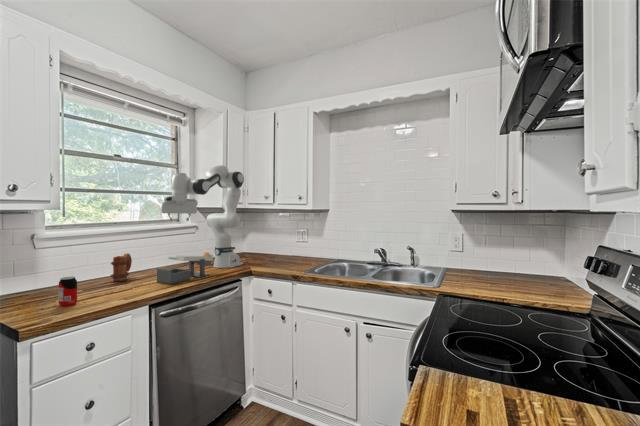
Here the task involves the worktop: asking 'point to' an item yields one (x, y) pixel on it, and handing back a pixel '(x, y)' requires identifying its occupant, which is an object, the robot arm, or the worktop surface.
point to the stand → (202, 269)
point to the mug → (121, 267)
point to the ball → (206, 255)
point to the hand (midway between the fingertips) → (179, 220)
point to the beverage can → (67, 291)
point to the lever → (194, 259)
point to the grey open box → (172, 276)
